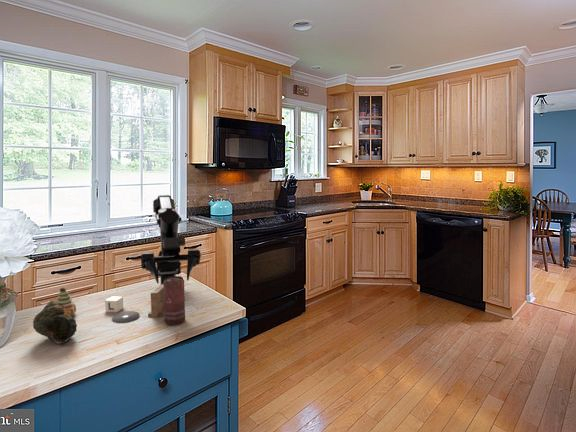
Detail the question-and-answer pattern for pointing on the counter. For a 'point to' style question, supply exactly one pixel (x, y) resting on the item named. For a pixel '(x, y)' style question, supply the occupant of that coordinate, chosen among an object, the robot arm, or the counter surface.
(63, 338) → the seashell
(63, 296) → the ornament
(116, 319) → the coaster
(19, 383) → the counter surface
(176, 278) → the can
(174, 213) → the robot arm
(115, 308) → the letter block
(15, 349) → the counter surface
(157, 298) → the screen
